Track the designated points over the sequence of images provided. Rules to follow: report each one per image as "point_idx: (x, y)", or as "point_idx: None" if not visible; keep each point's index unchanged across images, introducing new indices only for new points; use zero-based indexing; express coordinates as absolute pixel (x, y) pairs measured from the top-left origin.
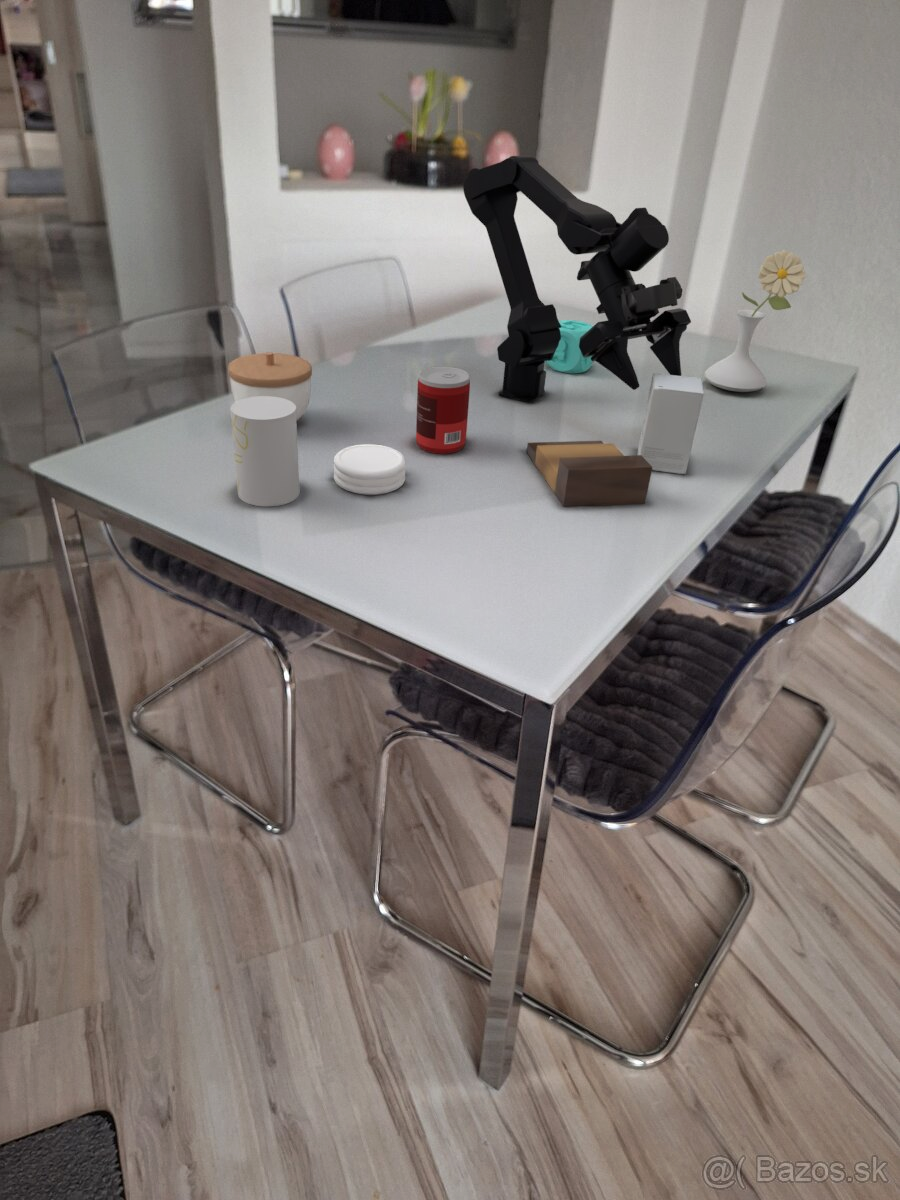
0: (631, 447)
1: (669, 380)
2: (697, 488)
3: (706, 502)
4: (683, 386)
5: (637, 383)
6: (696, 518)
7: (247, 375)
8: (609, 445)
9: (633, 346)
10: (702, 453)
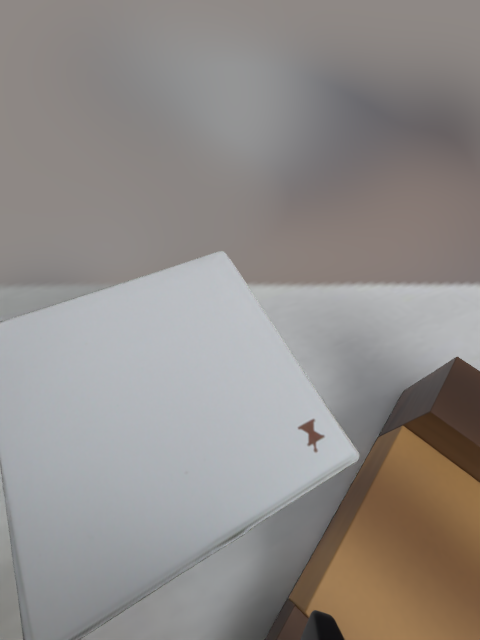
0: (131, 610)
1: (165, 443)
2: None
3: (298, 310)
4: (209, 339)
5: (331, 633)
6: (366, 302)
7: None
8: (332, 609)
9: None
10: None
